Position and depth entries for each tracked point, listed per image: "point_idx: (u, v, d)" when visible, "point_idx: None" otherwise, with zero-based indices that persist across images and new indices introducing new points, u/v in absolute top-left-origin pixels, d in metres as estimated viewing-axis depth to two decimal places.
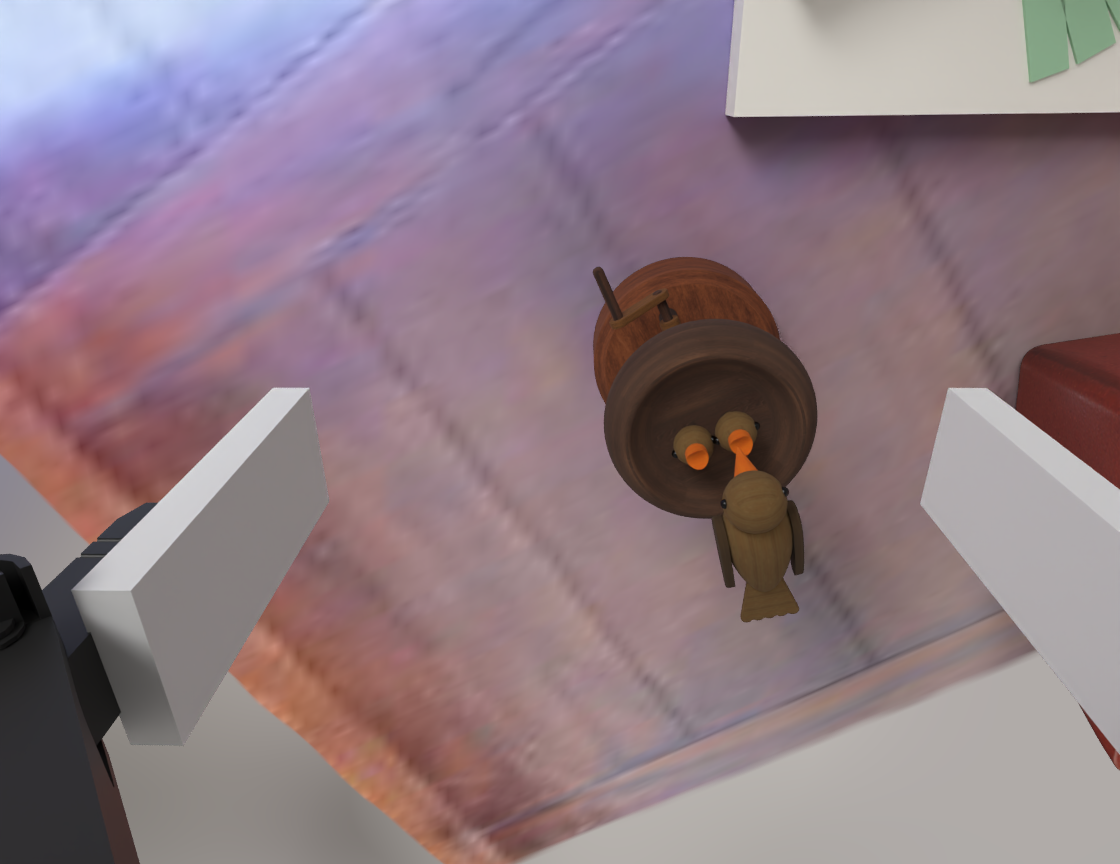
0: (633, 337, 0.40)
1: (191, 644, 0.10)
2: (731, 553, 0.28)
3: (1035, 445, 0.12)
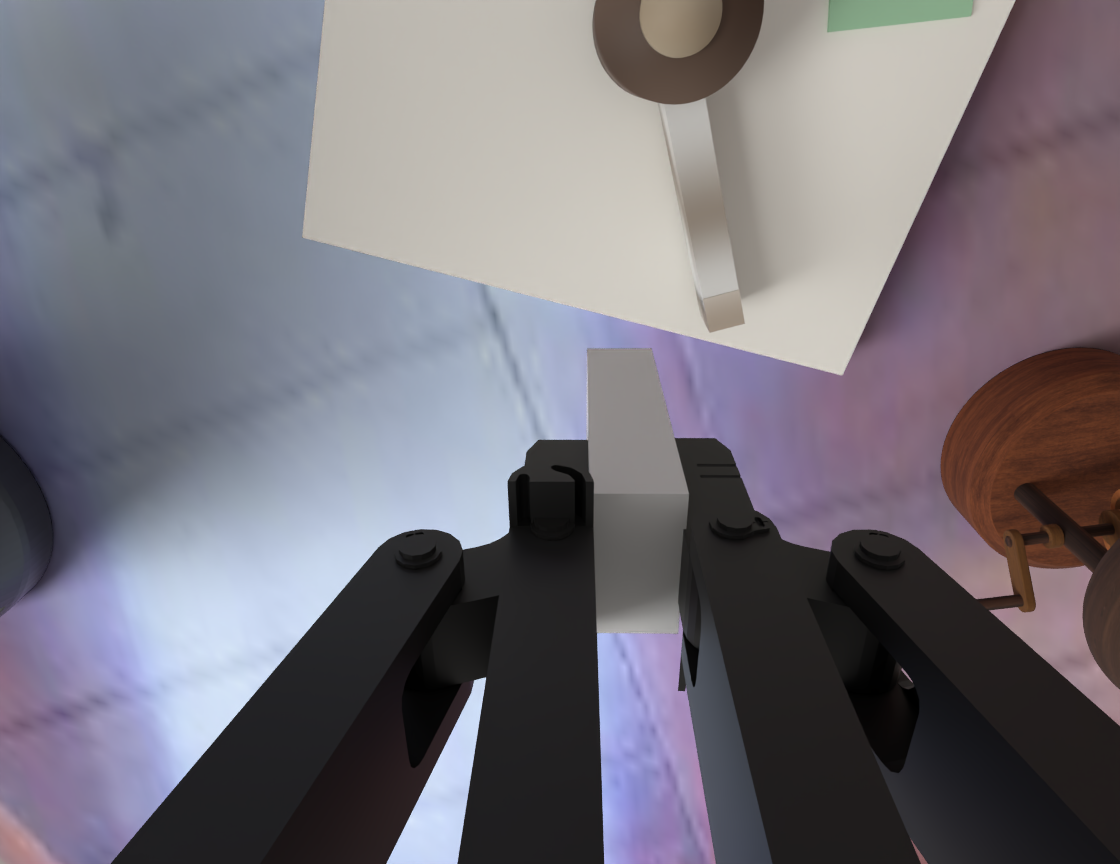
0: (1026, 530, 0.34)
1: None
2: None
3: (640, 390, 0.14)
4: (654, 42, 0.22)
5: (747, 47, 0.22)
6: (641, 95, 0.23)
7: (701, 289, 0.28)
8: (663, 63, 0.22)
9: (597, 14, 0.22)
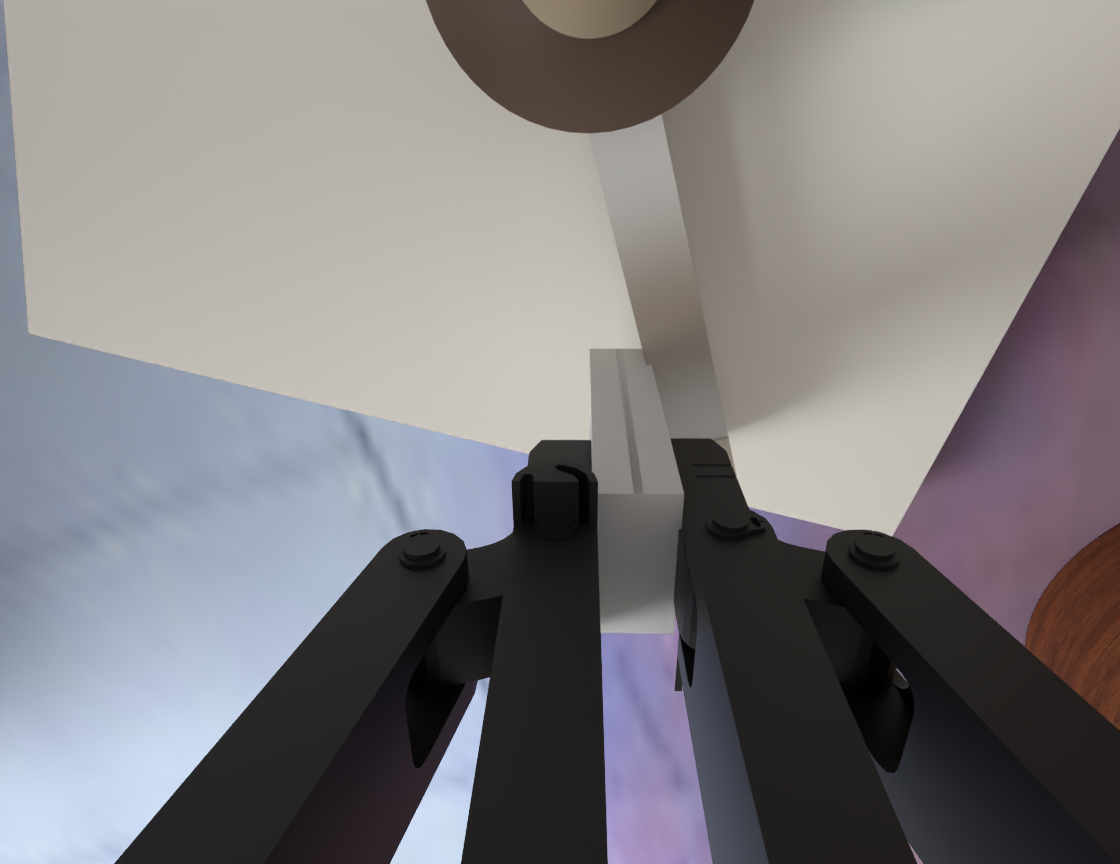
0: None
1: None
2: None
3: (636, 390, 0.14)
4: (537, 6, 0.10)
5: (734, 15, 0.11)
6: (523, 115, 0.11)
7: None
8: (561, 50, 0.11)
9: None
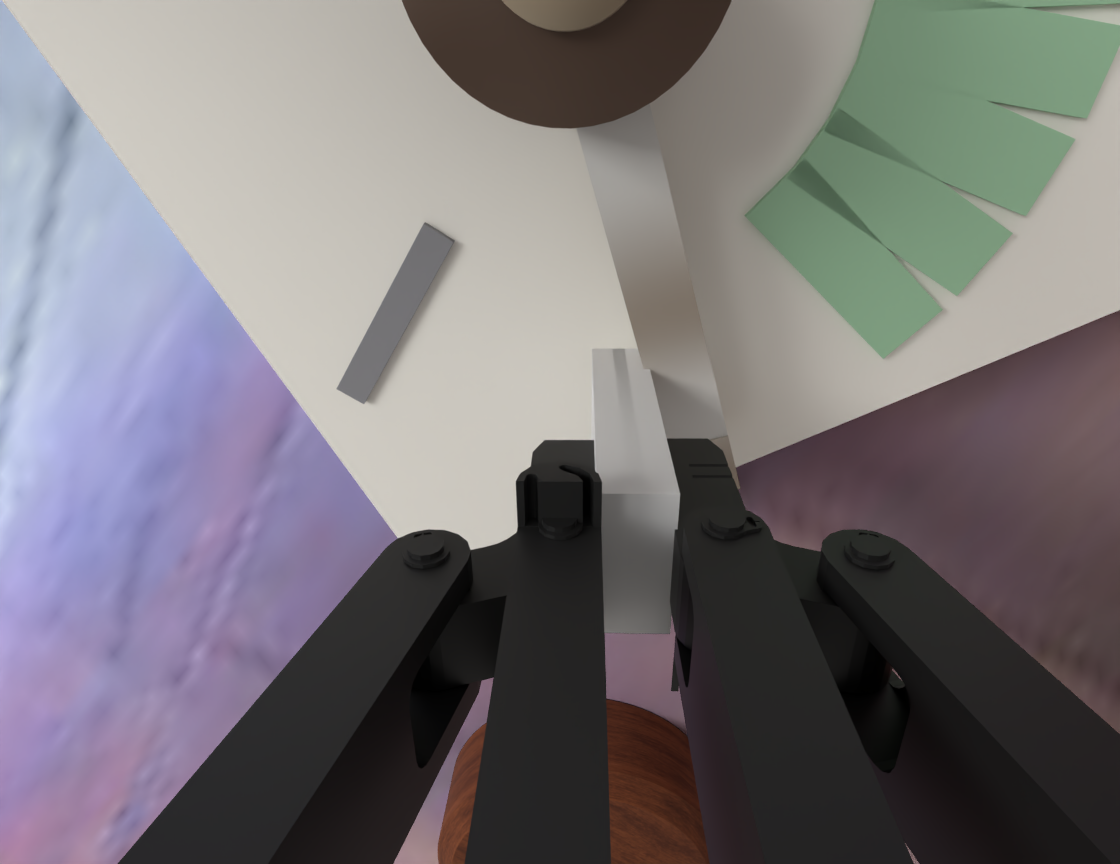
0: None
1: None
2: None
3: (633, 390, 0.14)
4: None
5: (716, 3, 0.10)
6: (502, 112, 0.11)
7: None
8: (540, 43, 0.11)
9: None
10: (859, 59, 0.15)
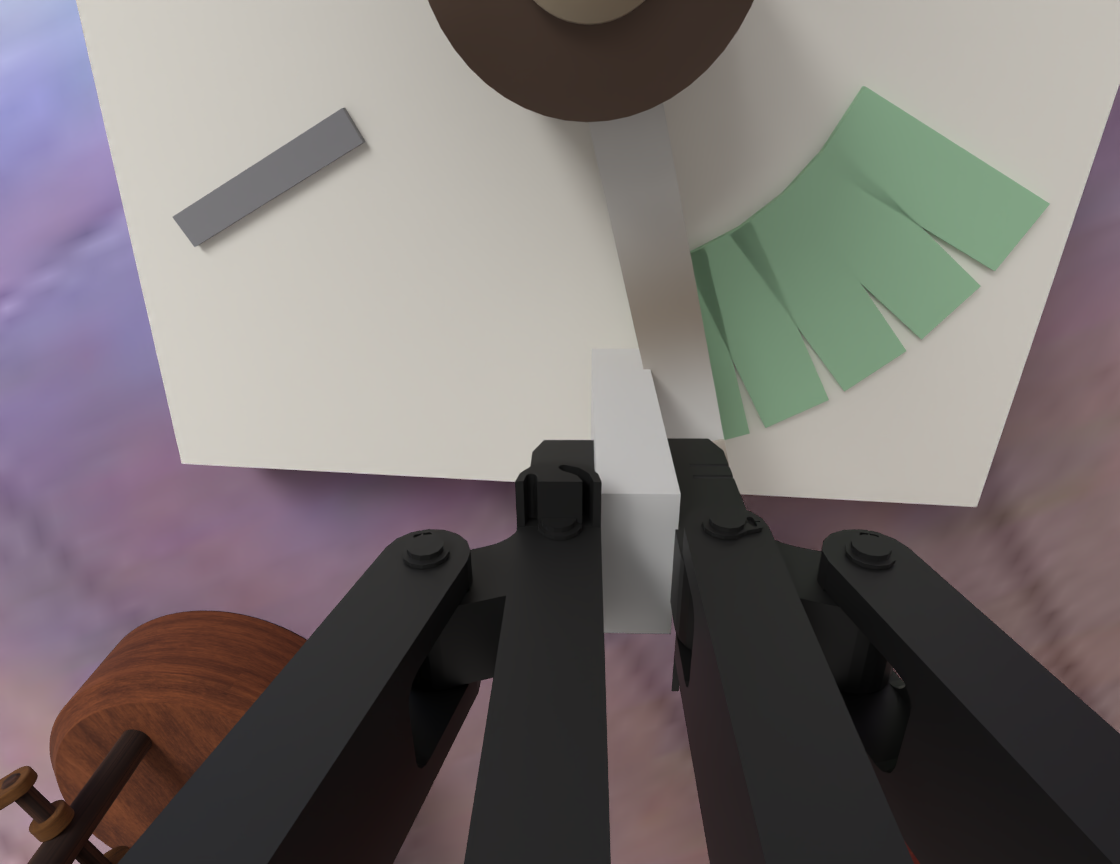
0: (90, 760, 0.24)
1: None
2: None
3: (633, 390, 0.14)
4: None
5: (737, 4, 0.10)
6: (518, 102, 0.11)
7: None
8: (559, 35, 0.11)
9: None
10: (785, 191, 0.16)
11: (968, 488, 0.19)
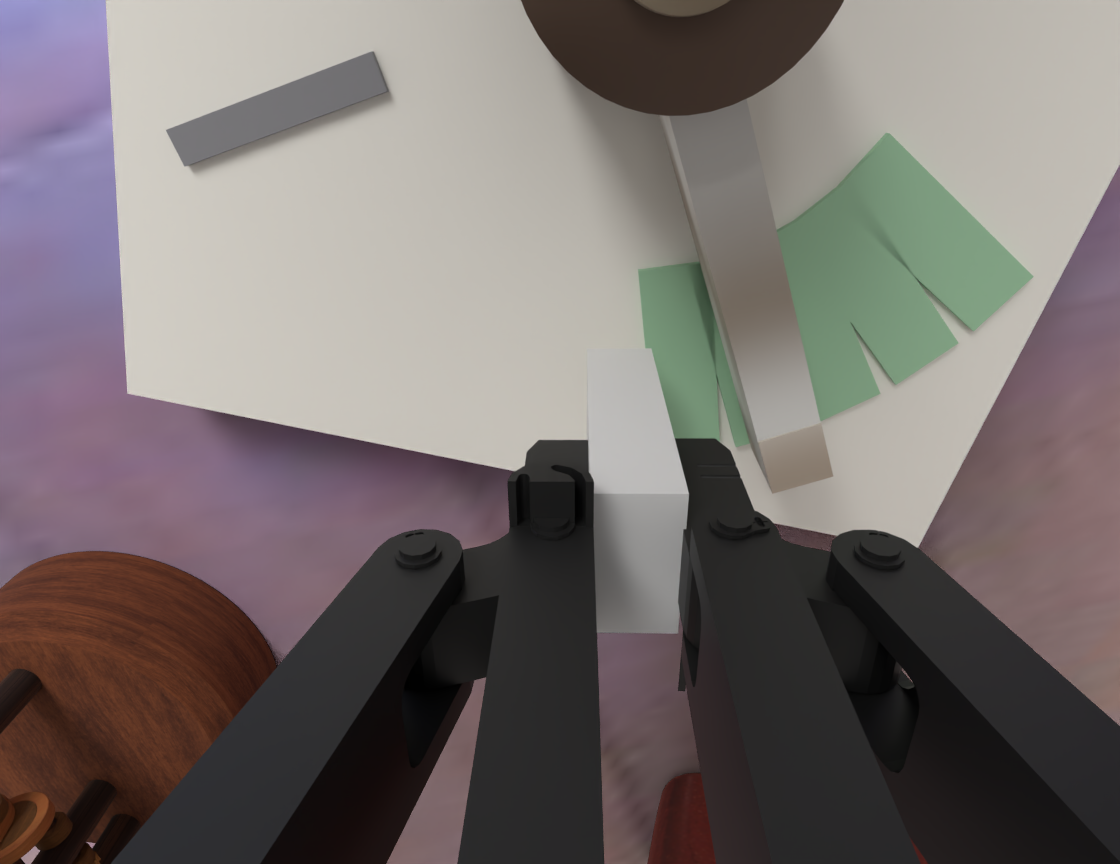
0: None
1: None
2: None
3: (640, 390, 0.14)
4: None
5: None
6: (618, 102, 0.11)
7: (754, 426, 0.16)
8: (658, 31, 0.10)
9: None
10: (796, 220, 0.16)
11: (911, 533, 0.20)
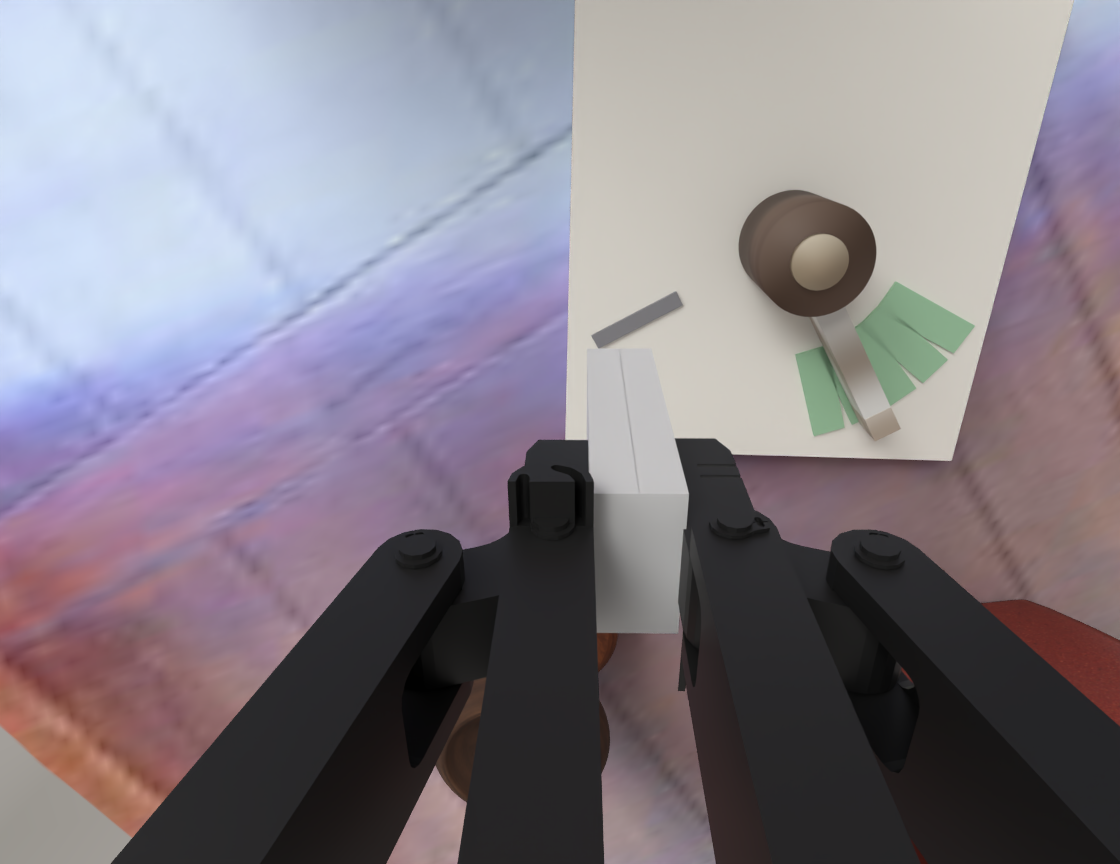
0: None
1: None
2: None
3: (640, 390, 0.14)
4: (805, 285, 0.32)
5: (869, 269, 0.32)
6: (801, 315, 0.33)
7: (862, 413, 0.37)
8: (812, 293, 0.32)
9: (762, 276, 0.32)
10: (863, 322, 0.38)
11: (947, 451, 0.41)
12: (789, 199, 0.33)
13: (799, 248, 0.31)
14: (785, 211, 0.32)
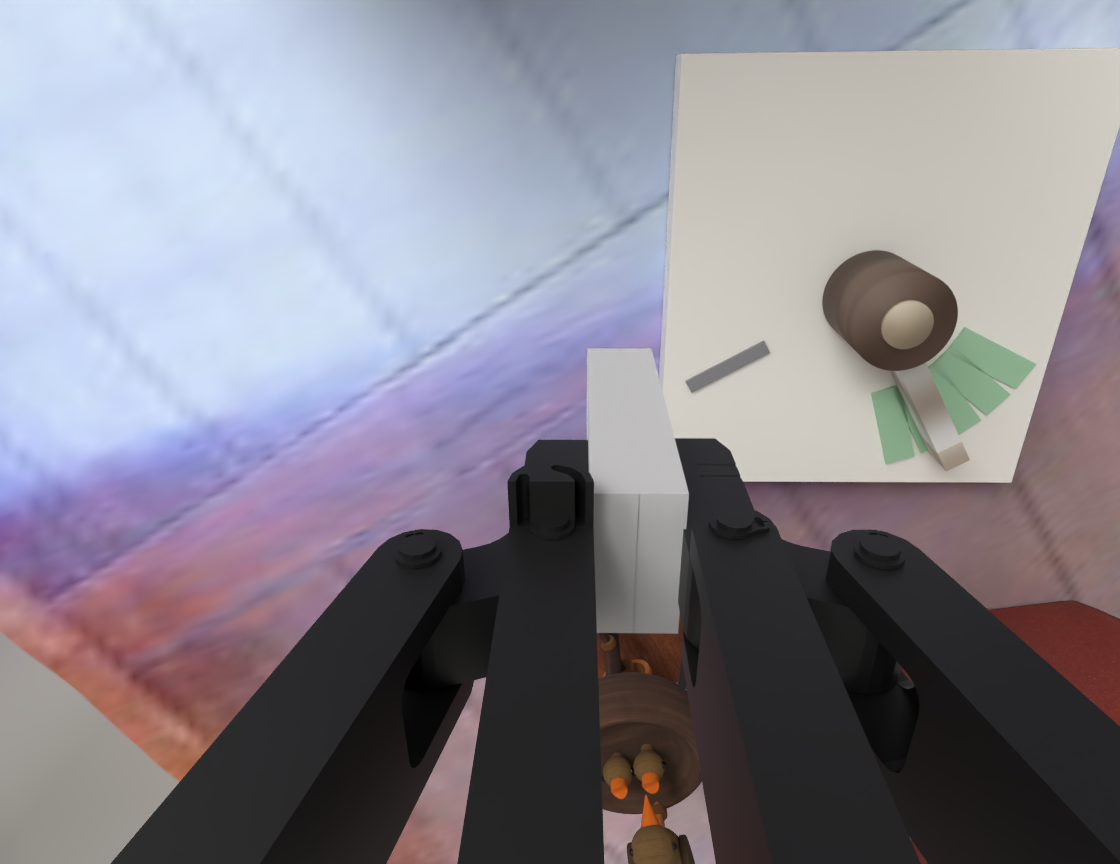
0: None
1: None
2: None
3: (640, 390, 0.14)
4: (894, 344, 0.35)
5: (951, 328, 0.35)
6: (888, 369, 0.37)
7: (935, 447, 0.41)
8: (899, 350, 0.36)
9: (854, 337, 0.36)
10: (934, 363, 0.42)
11: (1007, 474, 0.45)
12: (875, 264, 0.37)
13: (889, 313, 0.35)
14: (875, 279, 0.35)
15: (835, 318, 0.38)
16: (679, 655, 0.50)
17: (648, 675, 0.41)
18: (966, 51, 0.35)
